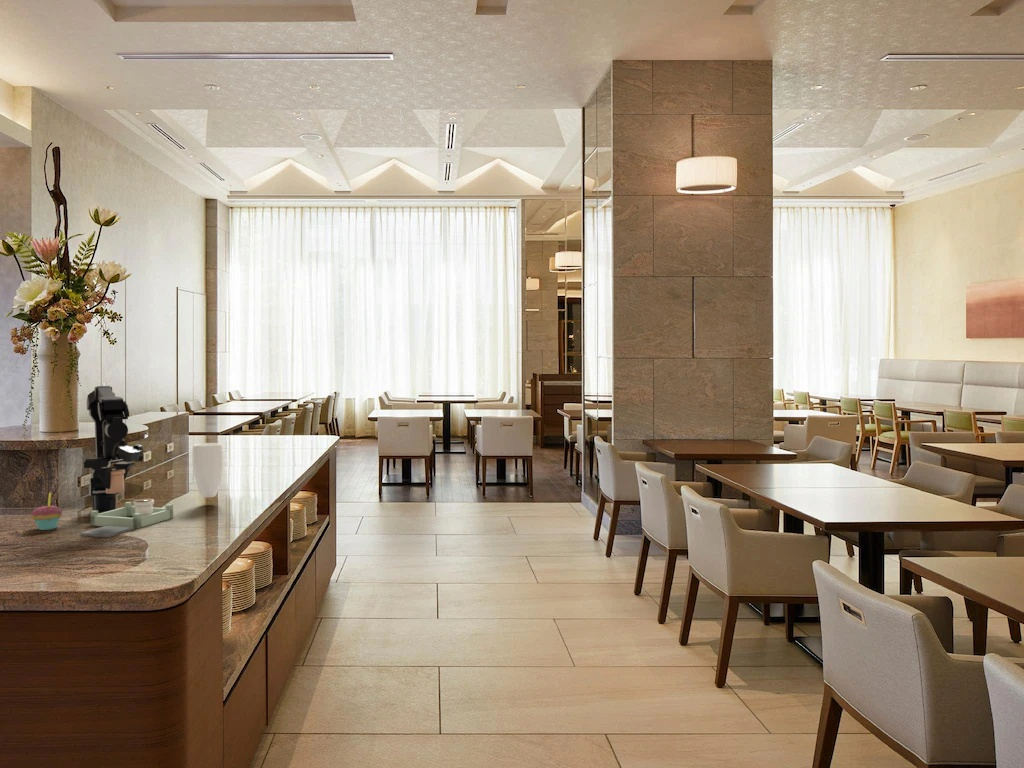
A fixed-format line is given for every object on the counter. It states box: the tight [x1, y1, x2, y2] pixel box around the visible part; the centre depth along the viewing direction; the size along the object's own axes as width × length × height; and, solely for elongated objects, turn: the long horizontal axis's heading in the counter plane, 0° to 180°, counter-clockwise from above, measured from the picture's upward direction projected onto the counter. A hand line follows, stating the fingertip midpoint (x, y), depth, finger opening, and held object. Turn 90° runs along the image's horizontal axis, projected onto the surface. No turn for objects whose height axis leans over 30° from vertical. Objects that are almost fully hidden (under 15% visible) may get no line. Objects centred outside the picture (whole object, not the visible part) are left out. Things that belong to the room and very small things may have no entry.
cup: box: [192, 442, 224, 498], centre depth 283 cm, size 10×10×22 cm
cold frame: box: [89, 501, 174, 529], centre depth 256 cm, size 18×16×4 cm
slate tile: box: [80, 526, 134, 538], centre depth 241 cm, size 10×10×1 cm
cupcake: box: [29, 490, 63, 531], centre depth 247 cm, size 9×8×12 cm
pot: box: [132, 498, 155, 517], centre depth 255 cm, size 6×6×7 cm
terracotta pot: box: [105, 468, 125, 494], centre depth 249 cm, size 6×6×7 cm
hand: (114, 487), depth 249 cm, fingers closed on terracotta pot, 5 cm apart
